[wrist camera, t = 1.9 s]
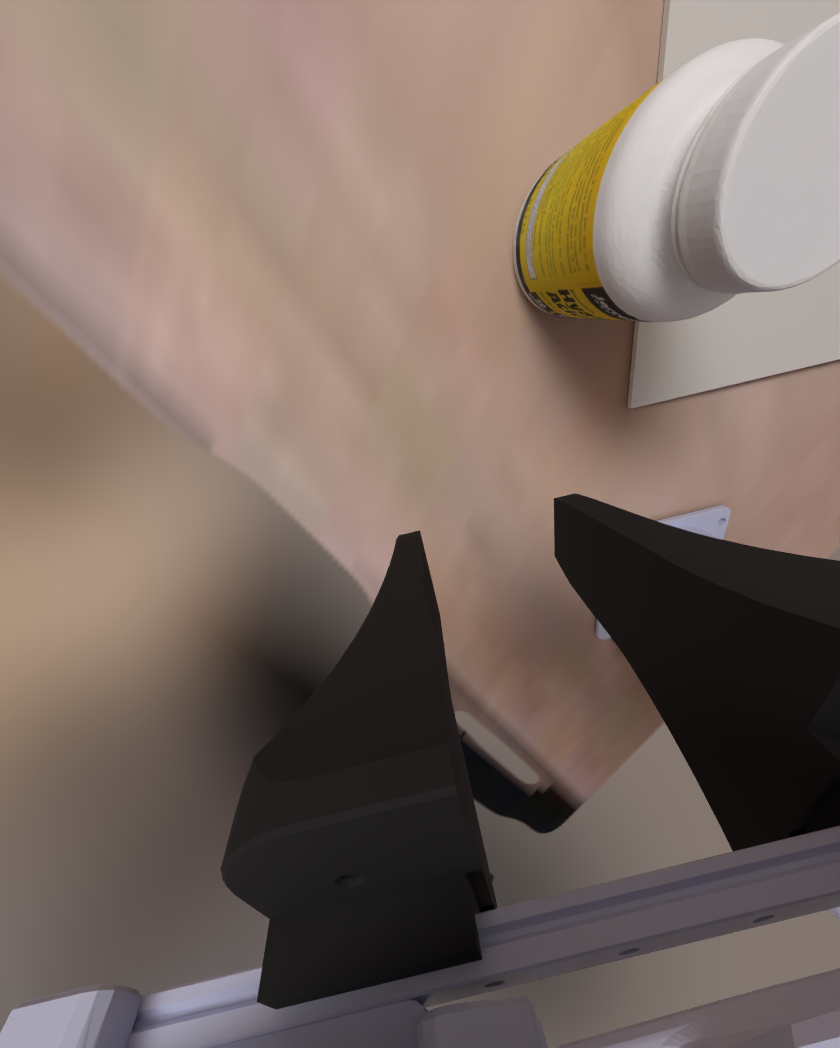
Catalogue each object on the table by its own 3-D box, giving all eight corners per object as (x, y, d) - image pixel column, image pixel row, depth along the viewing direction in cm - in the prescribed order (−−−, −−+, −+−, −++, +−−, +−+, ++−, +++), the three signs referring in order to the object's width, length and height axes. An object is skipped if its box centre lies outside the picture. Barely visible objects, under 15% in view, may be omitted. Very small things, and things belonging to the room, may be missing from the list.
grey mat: (926, 336, 19) (933, 336, 19) (627, 407, 19) (630, 408, 19) (1174, -197, 11) (1192, -208, 11) (671, -79, 11) (678, -88, 11)
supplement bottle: (501, 317, 16) (643, 325, 8) (519, 148, 14) (767, -117, 5) (615, 318, 17) (861, 328, 8) (655, 157, 14) (1076, -67, 6)
